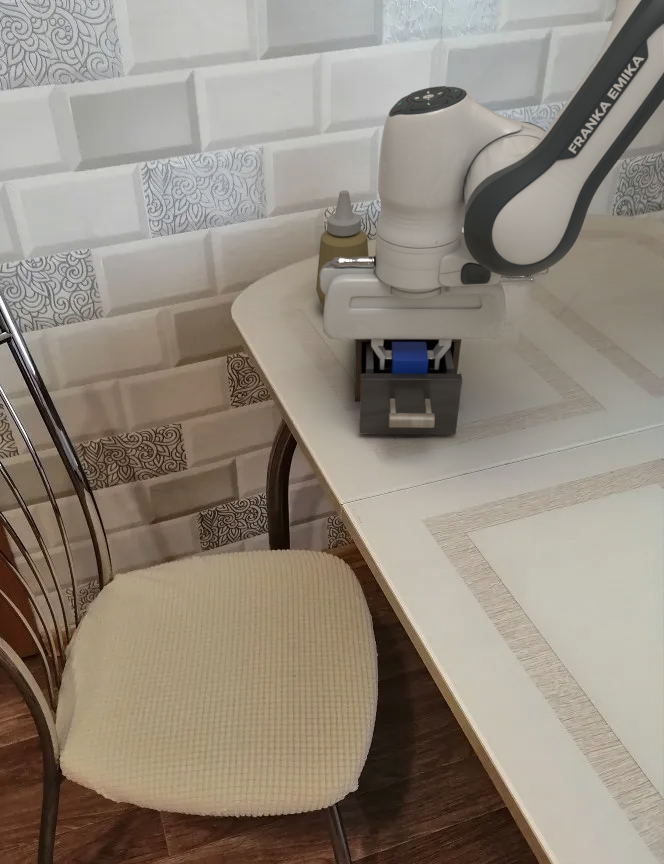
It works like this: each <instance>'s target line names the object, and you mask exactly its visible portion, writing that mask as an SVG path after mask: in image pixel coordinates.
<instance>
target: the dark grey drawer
mask: <svg viewBox="0 0 664 864" xmlns="http://www.w3.org/2000/svg"><path fill="white" fill-rule="evenodd" d="M437 344H438V342H426V346H427V350H433V349H434V348H435V347H436V345H437ZM383 347H384V348H385V350H392V342H384V343H383ZM379 360H380V358H379V357H378V356H377V354H376V353H375V351H374V350H373V348H372V347H371V342H365V373H361V384H360V402H359V428H358V430H359V431H358V432H359V434H362V435H364V434H366V435H368V434H371V435H373V434H374V435H375V434H376V435H378V434H379V435H380V434H381V435H456V434H457V425H458V424H457V423H458V416H459V409H460V400H461V394H462V393H461V392H462V385H463V376H462V373H457V374H453V372H454V367H453V361H452V355H451V348H449V349H448V350H447V352H446V353H445V354H444V355H443V356H442V358H440V361H439V369H438V370H427V374H405V373H391V372H390V370H380V364H379Z"/></svg>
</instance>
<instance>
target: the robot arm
mask: <svg viewBox="0 0 664 864" xmlns="http://www.w3.org/2000/svg"><path fill="white" fill-rule="evenodd" d="M663 101H664V0H616V4H615V9H614V14H613V18H612V21H611V25H610V28H609V31H608V33H607V36H606V38H605V40H604V43H603V45H602V47H601V49H600V50H599V52H598V54H597V56H596V58H595V59H594V61H593V63H592V64H591V65H590V67H589V68H588V70H587V71H586V73H585V75H584V76H583V77H582V79H581V80H580V82H579V83H578V85H577V86H576V87H575V89H574V90H573V91H572V93H571V94H570V96H569V97H568V99H567V100H566V102H565V103H564V105H563V106H562V107H561V109H560V110H559V111H558V113H557V114H556V115H555V118H553V120H552V122H551V123H550V125H549V126H548V128H547V129H546V130H545V129H544V128H542V127H541V126H539V125H537V124H535V123H532V122H529V121H523V120H517V119H513V118H511V117H507V116H504V115H502V114H500V113H497V112H495V111H493V110H491V109H490V108H487V107H485V106H484V105H482V104H481V103H480V102H479V101H477V100H475V99H474V98H473V97H472V96H471V95H470V94H469V92H468V91H466V90H465V89H463V88H461V87H456V86H446V85H441V86H431V87H426V88H422V89H419V90H416V91H413V92H410V94H407V95H405V96H402V97H401V98H400V99H399V100H397V102H395V104H394V105H393V106H392V107H391V108H390V110H389V112H388V114H387V116H386V119H385V121H384V125H383V129H382V135H381V142H380V147H379V159H378V173H377V174H378V176H377V191H378V197H379V200H380V212H379V216H378V219H377V221H376V226H375V227H376V228H375V229H376V231H375V255H374V256H373V255H372V256H370V255H369V257H353V258H346V257H335V258H333V261H329V262H327V263H326V264H324V265H323V266H322V268H321V270H320V274H319V276H320V289H321V291H322V292H323V293H324V294H325V303H324V310H323V316H322V321H323V322H322V332H323V334H324V335H325V336H326V337H327V339H329V340H355V339H371V347H372V348H373V350H374V351H375V353H376V354H377V356H378V357H379V358H380V360H379V364H380V370H392V360H393V358H392V350H385V348H384V347H383V343H384V339H438V344H437V345H436V347H435V348H434V349H433V350H427V354H428V369H427V370H438V369H439V361H440V358H442V356H443V355H444V354H445V353H446V352H447V350H448V349H449V348H450V347H451V341H452V339H461V340H496V339H497V338H498V337H499V336H501V335H502V334H503V333H504V331H505V325H506V317H507V316H506V315H507V314H506V313H507V311H506V310H507V307H506V306H507V305H506V303H507V302H506V294H505V290H504V286H503V282H502V276H504V277H512V278H513V277H516V278H519V277H527V276H532V275H535V274H538V273H541V272H543V271H546V270H548V269H550V268H551V267H553V266H554V265H556V264H557V263H558V262H560V261H562V260H563V259H564V257H565V256H566V255H568V253H569V252H570V251H571V249H572V248H573V246H574V245H575V244H576V242H577V239H578V238H579V236H580V233H581V231H582V228H583V225H584V222H585V220H586V216H587V213H588V210H589V207H590V206H591V203H592V201H593V198H594V196H595V195H596V193H597V191H598V189H599V187H601V185H602V183H603V182H604V180H605V179H606V177H607V176H608V174H609V173H610V172H611V170H612V169H613V168H614V167H615V165H616V164H617V163H618V161H619V160H620V158H621V157H622V156H623V154H624V153H626V150H627V149H628V148H629V147H630V146H631V144H632V143H633V141H634V140H635V139H636V137H637V136H638V135H639V133H640V132H641V130H643V128H644V126H645V125H646V124H647V122H648V121H649V120H650V119H651V117H652V116H653V115H654V113H655V112H656V111H657V110H658V108H659V106H661V104H662V103H663ZM332 264H333V266H330V265H332Z"/></svg>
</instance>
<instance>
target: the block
mask: <svg viewBox="0 0 664 864" xmlns="http://www.w3.org/2000/svg"><path fill="white" fill-rule="evenodd" d="M392 358H393V360H392V370H390V372H391V373H405V374H427V369H428V354H427V346H426V342H392Z"/></svg>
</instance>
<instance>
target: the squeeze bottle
mask: <svg viewBox="0 0 664 864" xmlns="http://www.w3.org/2000/svg"><path fill="white" fill-rule="evenodd" d="M326 219H327V220H326V230H325V231H324V232H323V233H322V234H321V236H320V243H319V251H318V252H319V253H318V264H317V273H316V274H317V277H316V286H315V287H316V288H315V290H316V294H317V297H318V300H319V302H320V305H321V308H322V310H323V311H324V303H325V294H324V293H323V292H322V291H321V289H320V276H319V274H320V270H321V268H322V266H323V265H324V264H326V263H327V262H329V261H333V258H335V257H346V258H353V257H369V256H370V255H369V243H368V235H367V233H366V232H365V231H363V230H362V229H361V227H362V219H361V216H360V215H358V214H357V213H355V212H354V211H353V207H352V202H351V198H350V192H349V190H340V191H339V194H338V198H337V203H336V208H335V213H331V214H330V215H329V216H328V217H327V218H326ZM330 266H333V264H332V265H330Z"/></svg>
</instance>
